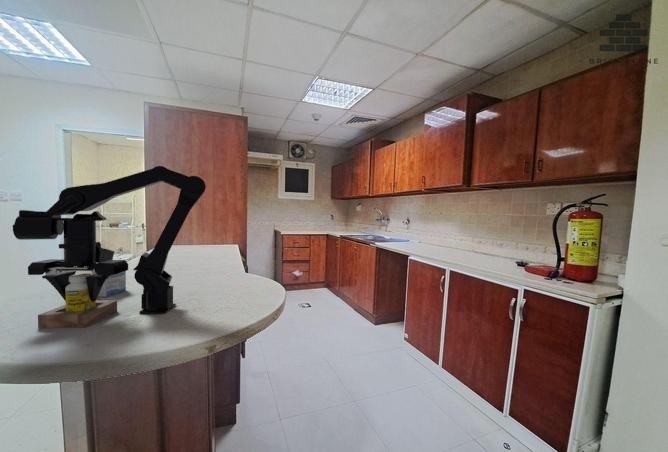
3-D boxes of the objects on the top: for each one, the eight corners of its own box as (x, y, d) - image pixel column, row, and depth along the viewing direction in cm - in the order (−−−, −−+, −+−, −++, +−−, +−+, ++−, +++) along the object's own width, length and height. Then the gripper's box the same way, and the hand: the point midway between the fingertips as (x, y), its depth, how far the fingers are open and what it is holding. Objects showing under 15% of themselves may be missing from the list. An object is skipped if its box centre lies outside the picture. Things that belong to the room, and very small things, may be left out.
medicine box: (105, 297, 81) (105, 270, 81) (91, 297, 81) (91, 269, 81) (126, 290, 89) (126, 265, 88) (113, 289, 89) (113, 264, 88)
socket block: (117, 311, 70) (117, 300, 70) (85, 327, 60) (85, 314, 60) (76, 311, 69) (76, 300, 69) (38, 327, 59) (37, 314, 59)
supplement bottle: (97, 307, 68) (97, 271, 68) (93, 314, 64) (93, 276, 64) (69, 311, 66) (68, 274, 65) (62, 319, 61) (61, 278, 61)
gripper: (141, 236, 73) (141, 291, 74) (68, 235, 71) (69, 291, 72) (111, 240, 62) (112, 305, 63) (24, 239, 60) (26, 306, 61)
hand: (81, 301), depth 65 cm, fingers closed on supplement bottle, 5 cm apart
